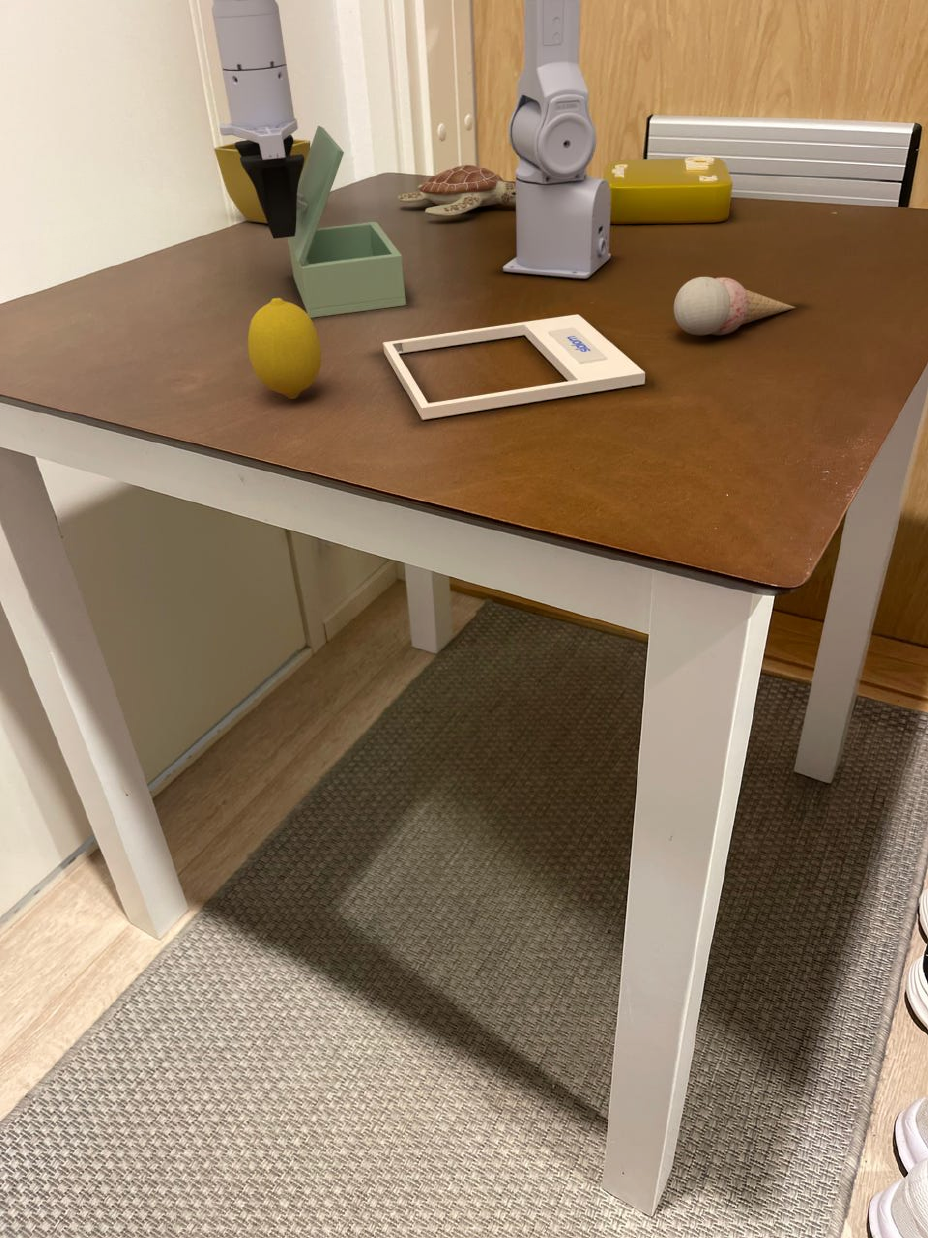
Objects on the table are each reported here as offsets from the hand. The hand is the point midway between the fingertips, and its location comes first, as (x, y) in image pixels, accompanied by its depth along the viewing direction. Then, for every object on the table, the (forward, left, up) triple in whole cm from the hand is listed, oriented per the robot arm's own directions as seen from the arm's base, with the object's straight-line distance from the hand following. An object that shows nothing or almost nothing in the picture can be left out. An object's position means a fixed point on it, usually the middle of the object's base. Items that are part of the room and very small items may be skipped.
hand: (280, 226), depth 91 cm
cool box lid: (-3, -2, +3) cm, 5 cm away
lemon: (-14, +21, -7) cm, 27 cm away
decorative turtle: (-1, -39, -7) cm, 39 cm away
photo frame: (-28, +10, -7) cm, 31 cm away
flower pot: (+21, -27, -7) cm, 34 cm away
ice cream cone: (-44, -5, -7) cm, 45 cm away
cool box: (-4, -4, -7) cm, 9 cm away
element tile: (-26, -44, -7) cm, 52 cm away
